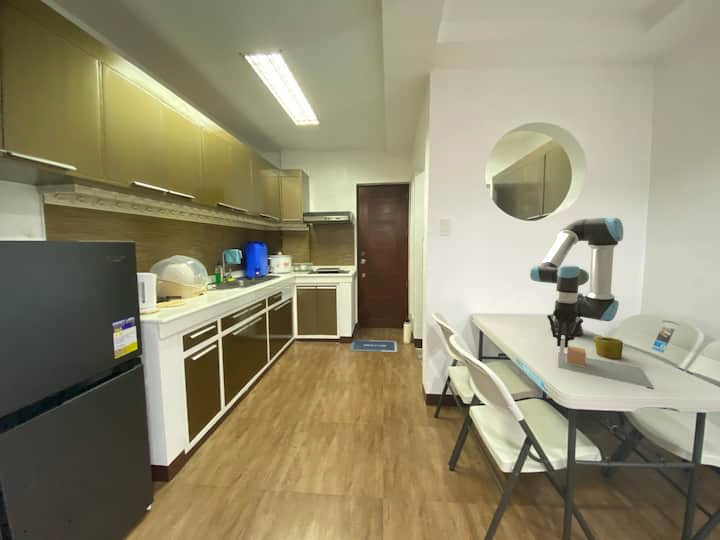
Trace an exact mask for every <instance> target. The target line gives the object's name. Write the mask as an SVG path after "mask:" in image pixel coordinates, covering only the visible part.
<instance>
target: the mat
mask: <svg viewBox="0 0 720 540" xmlns="http://www.w3.org/2000/svg"><path fill="white" fill-rule="evenodd" d="M557 357H558V358H557V359H558V360H557V361H558V362H557V363H558V365H557V366H558V367H557V368H558V369H561V370H567V371H572V372H576V373H582V374H585V375H591V376H595V377H599V378H604V379H609V380H613V381H614V380H615V381H618V382H622V383H628V384H632V385H633V384H634V385H637V386H642V387H646V388H647V389H651V390H654V387H653V384H652V383H651V382H650V380H649V378H648V377H647V376H646V374H645V372H644V370H643V369H642V368H641V367H639V366H634V365H628V364H624V363H618V362H613V361H607V360H602V359H597V358H591V357H587V356H586V358H585V367H582V366H577V365H572V364H567V359H566V358H567V352H566V353H565V352H564V355H560V351H558V353H557Z"/></svg>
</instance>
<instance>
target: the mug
mask: <svg viewBox="0 0 720 540" xmlns="http://www.w3.org/2000/svg"><path fill="white" fill-rule="evenodd" d="M593 342H594V343H595V351H596V354H597V355H598V356H600V357H602V358H606V359H609V360H619V359H622V357H623V343H624V342H623V341H622V340H620V339H619V338H614V337H605V336H604V337H601V336H594V337H593Z"/></svg>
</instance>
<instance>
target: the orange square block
mask: <svg viewBox="0 0 720 540" xmlns="http://www.w3.org/2000/svg"><path fill="white" fill-rule="evenodd" d="M566 349H567V350H566V354H567V358H566V359H567V364H572V365H577V366H582V367H585V358H586V357H587V351H586V349H585V348H583V347H577V346H571V345H568V347H567V348H566Z"/></svg>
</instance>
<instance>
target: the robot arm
mask: <svg viewBox="0 0 720 540" xmlns="http://www.w3.org/2000/svg"><path fill="white" fill-rule="evenodd" d="M623 239H624V226H623V223H622V221H621V219H620V218H617V217H598V218H597V217H596V218H580V219H577V220H574V221H571V222H570V223H568V224H566V225H565V226H564V227H563V228H562V229H560V231H559V232H558V234H557V236H556V241H555V242H554V244H553V245H552V247H551V249H550V250H549V251H548V252H547V255H546V256H545V257H544V259H543V261H542V262H541V264H540V265H537V266H536V265H534V266H532V267H531V268H530V270H529V277H530V280H532V281H533V282H539V283H546V284H547V283H548V284H556V290H555V302H554V310H553V312H552V313H551V314H547V316H546V317H547V319H548V320H549V323H550V324H549V325H550V330H551V333H552V337H553V338H555V339H557V343H556V346H557V347H558V348H559V352H560V355H564V353H565V348H566V349H567V347H568V346H569V341H574V340H575V337H581V336H583V335H584V329H583V326H582V324H583V323H584V319H583V318H586V319H591V320H594V321H595V320H596V321H600V322H602V321H603V322H612V321H613V320H614V318H616V315H617V314H618V313H617V312H618V310H619V305H620V304H619V301H618V300H617V299H615V297H616V296H615V295H614V294H613V293H612V282H613V281H612V279H613V263H614V248H615V247H617V246H618V244H619V242H621V241H623ZM578 242H587V246H589V247H590V248H591V251H590V252H591V255H590V274H589V272H588V271H586V269H583V268H580V267H579V266H577V265H565V264H564V265H562V263H563V262H564V261H565V258H566V257H567V256H568V254H569V252H570V251H571V250H572V247H573V246H574V245H576V244H578ZM589 279H590V280H589ZM588 281H589V291H587V293H586V294H585V296H584V295H583V293H582V292H579V286H580V287H581V286H583V285H585V284H587V282H588ZM562 336H564V338H562Z"/></svg>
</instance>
